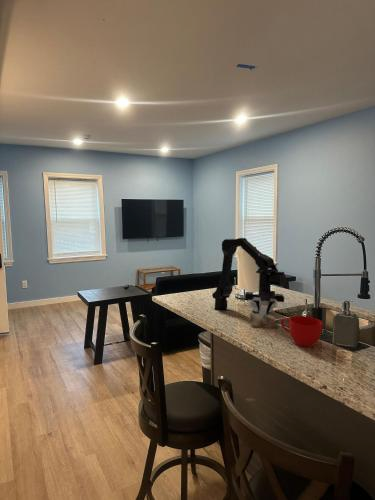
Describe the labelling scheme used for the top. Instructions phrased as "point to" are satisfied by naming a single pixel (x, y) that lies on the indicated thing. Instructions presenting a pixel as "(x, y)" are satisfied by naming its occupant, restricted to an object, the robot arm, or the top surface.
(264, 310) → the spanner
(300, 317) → the ceramic cup
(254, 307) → the paper bowls
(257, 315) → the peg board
